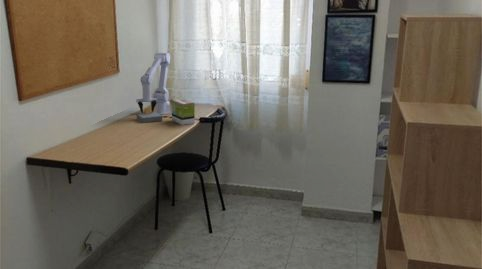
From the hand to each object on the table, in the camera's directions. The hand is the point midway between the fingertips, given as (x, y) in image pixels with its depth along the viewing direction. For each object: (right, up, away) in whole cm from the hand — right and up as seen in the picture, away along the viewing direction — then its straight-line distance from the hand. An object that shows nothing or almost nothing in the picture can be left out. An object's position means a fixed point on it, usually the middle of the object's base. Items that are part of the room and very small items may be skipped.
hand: (147, 112), depth 312 cm
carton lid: (+2, -3, -3) cm, 5 cm away
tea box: (+25, -7, -4) cm, 27 cm away
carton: (+2, -6, -2) cm, 7 cm away
